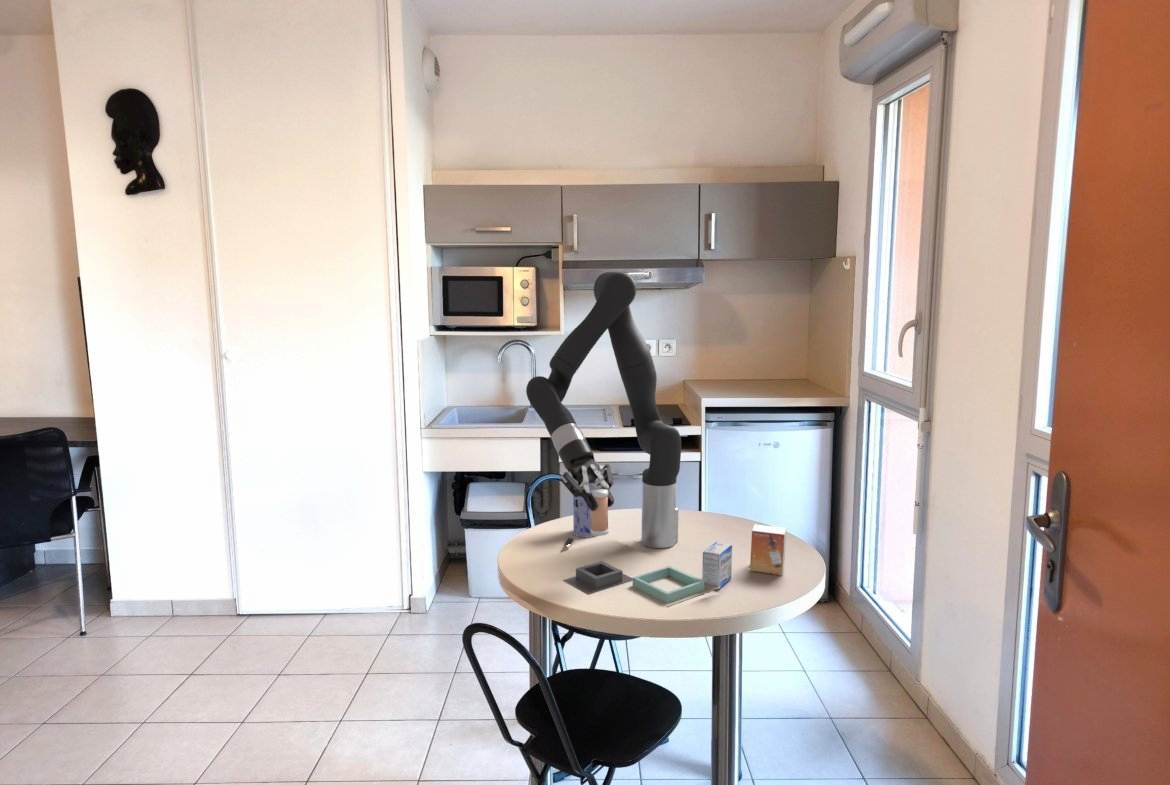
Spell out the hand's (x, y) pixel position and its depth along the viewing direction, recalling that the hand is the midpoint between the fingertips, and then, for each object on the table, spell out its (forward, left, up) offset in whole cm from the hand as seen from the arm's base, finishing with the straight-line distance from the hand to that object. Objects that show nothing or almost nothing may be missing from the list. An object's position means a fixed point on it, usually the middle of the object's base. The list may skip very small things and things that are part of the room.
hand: (603, 506), depth 167 cm
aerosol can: (-19, -31, -19) cm, 41 cm away
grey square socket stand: (0, -1, -19) cm, 19 cm away
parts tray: (-10, +12, -19) cm, 25 cm away
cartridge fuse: (0, -1, -7) cm, 7 cm away
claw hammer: (-5, -21, -20) cm, 29 cm away
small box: (-39, +17, -19) cm, 47 cm away
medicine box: (-23, +15, -19) cm, 33 cm away
